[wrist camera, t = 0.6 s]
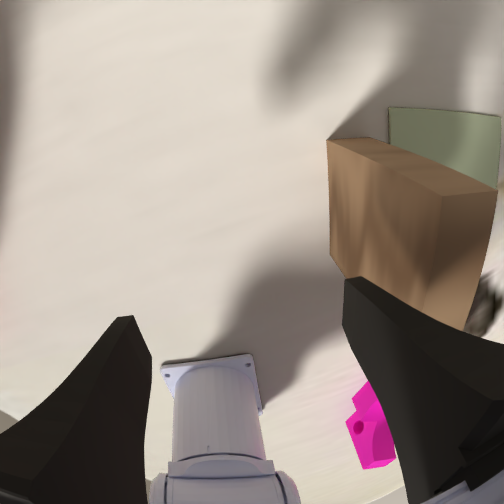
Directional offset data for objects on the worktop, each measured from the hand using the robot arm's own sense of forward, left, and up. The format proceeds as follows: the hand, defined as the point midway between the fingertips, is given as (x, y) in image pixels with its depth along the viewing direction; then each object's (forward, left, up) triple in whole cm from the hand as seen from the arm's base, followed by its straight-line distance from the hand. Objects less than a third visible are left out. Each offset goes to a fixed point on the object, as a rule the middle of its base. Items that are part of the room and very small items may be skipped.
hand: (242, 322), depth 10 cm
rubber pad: (0, -17, -10) cm, 20 cm away
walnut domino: (0, -8, -10) cm, 13 cm away
